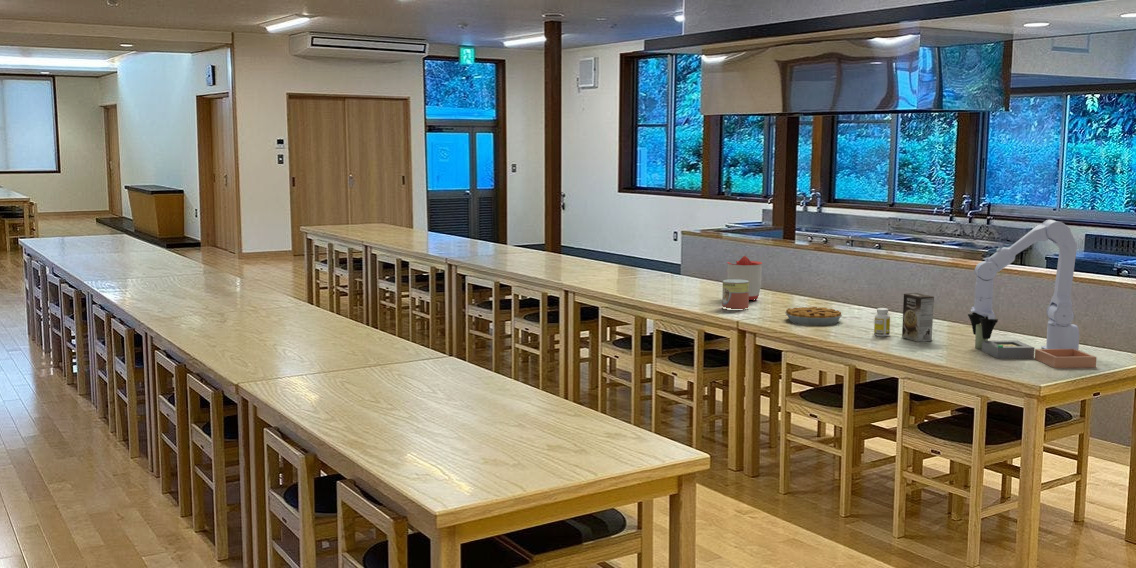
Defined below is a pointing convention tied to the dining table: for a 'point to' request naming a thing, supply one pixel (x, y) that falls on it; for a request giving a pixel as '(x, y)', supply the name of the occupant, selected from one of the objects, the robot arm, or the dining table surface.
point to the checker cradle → (1008, 349)
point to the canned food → (735, 294)
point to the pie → (813, 316)
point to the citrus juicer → (747, 274)
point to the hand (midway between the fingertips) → (981, 336)
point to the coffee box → (917, 317)
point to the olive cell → (979, 337)
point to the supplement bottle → (882, 322)
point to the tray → (1065, 358)
